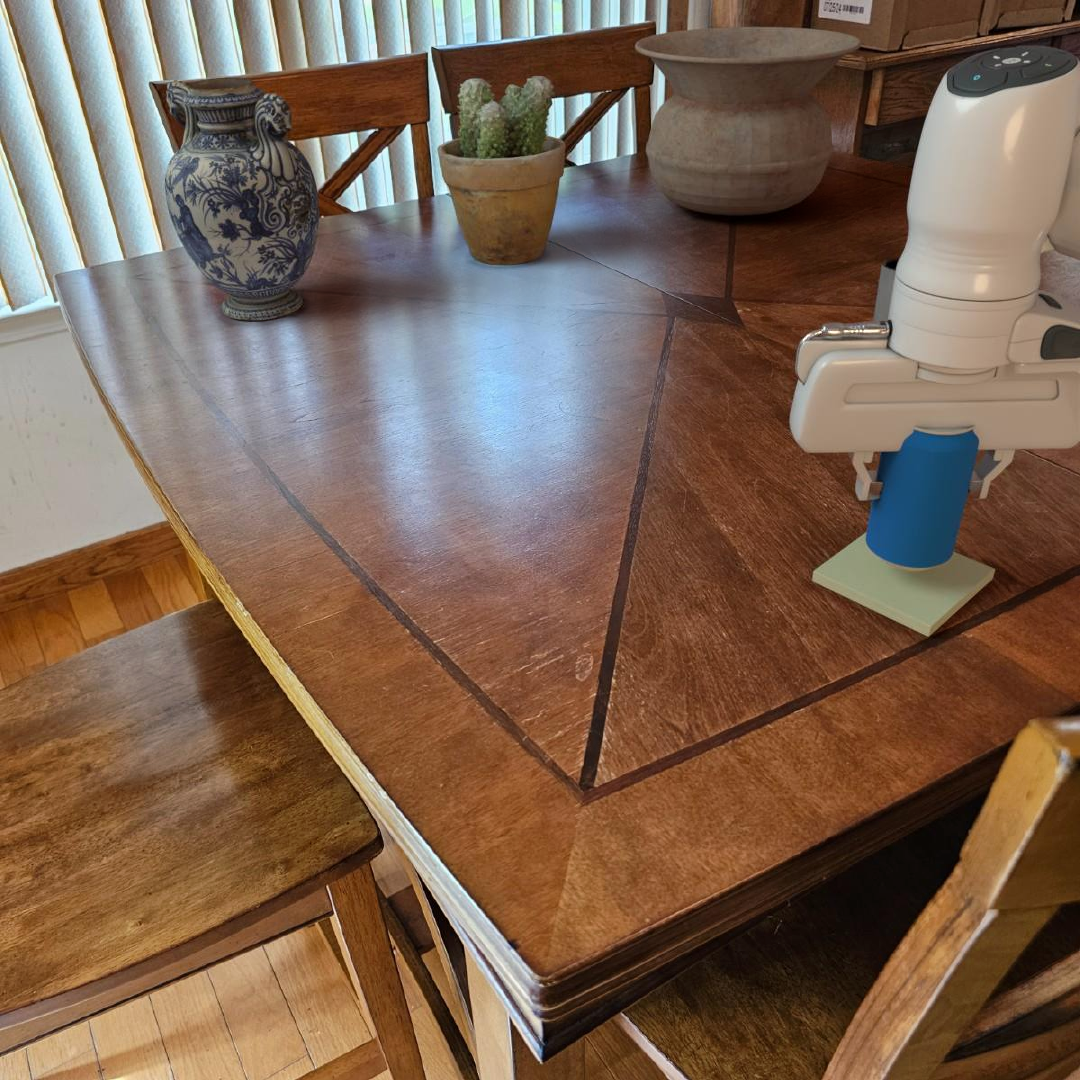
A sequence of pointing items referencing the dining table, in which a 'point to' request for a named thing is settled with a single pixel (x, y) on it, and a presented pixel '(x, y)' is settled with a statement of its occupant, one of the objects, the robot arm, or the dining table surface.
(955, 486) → the beverage can
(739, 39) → the pot
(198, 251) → the decorative vase
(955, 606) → the mat
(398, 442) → the dining table surface
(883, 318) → the grey cup
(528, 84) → the potted plant
